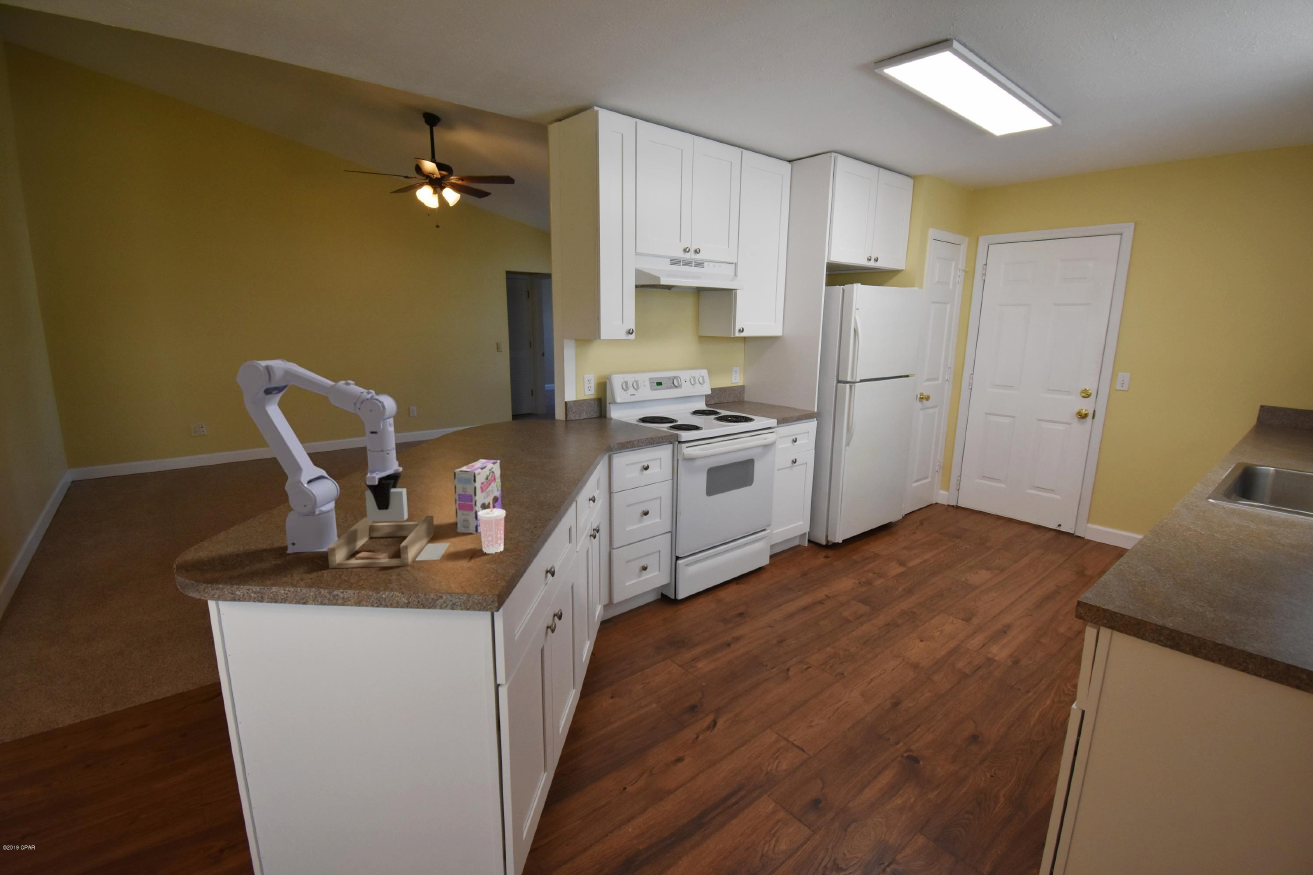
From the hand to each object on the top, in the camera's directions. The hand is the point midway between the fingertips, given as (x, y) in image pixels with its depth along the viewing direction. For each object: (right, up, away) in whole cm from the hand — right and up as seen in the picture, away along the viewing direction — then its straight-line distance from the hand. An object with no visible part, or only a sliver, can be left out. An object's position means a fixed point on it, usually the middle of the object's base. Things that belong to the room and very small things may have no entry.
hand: (385, 507), depth 130 cm
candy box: (+16, -7, +18) cm, 25 cm away
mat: (+11, -10, -1) cm, 15 cm away
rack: (0, -10, 0) cm, 10 cm away
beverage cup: (+24, -10, +2) cm, 26 cm away
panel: (0, -3, +1) cm, 3 cm away
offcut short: (0, -11, -6) cm, 12 cm away
